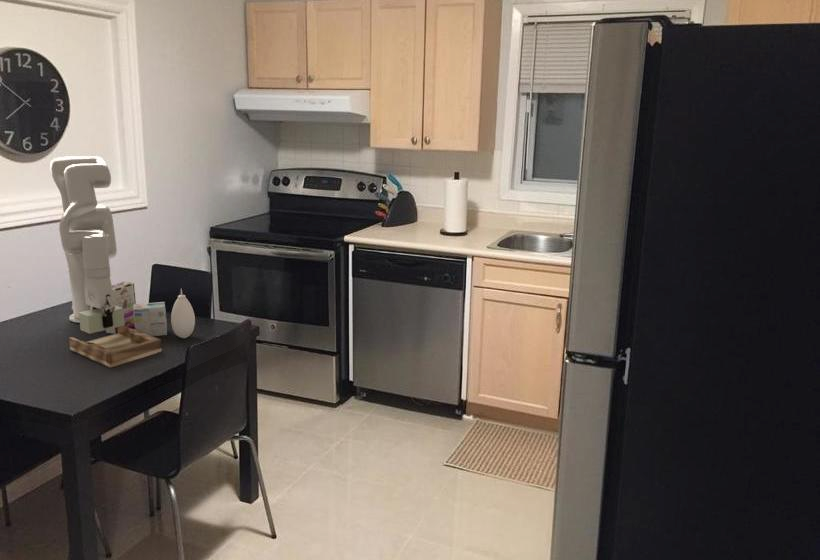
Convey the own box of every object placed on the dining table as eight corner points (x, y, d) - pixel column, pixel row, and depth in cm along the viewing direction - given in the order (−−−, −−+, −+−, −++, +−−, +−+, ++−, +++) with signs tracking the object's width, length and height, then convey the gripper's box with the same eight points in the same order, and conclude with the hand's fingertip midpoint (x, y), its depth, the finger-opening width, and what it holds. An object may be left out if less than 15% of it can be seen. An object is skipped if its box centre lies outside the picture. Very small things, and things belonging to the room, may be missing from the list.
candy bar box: (127, 323, 243) (123, 281, 238) (138, 325, 241) (135, 282, 237) (104, 333, 232) (100, 288, 228) (116, 335, 231) (112, 290, 227)
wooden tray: (70, 349, 216) (68, 337, 215) (121, 335, 230) (120, 324, 229) (110, 367, 203) (109, 354, 202) (161, 351, 217) (160, 339, 216)
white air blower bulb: (198, 333, 234) (195, 285, 230) (192, 341, 227) (189, 291, 222) (176, 333, 234) (173, 285, 230) (169, 341, 227) (165, 291, 222)
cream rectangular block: (80, 330, 215) (78, 312, 214) (115, 321, 225) (113, 304, 223) (89, 333, 212) (88, 316, 210) (124, 325, 221) (123, 308, 220)
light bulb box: (167, 329, 238) (165, 301, 235) (167, 335, 232) (165, 306, 229) (135, 332, 234) (133, 303, 232) (135, 338, 228) (132, 308, 226)
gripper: (72, 270, 216) (78, 322, 220) (100, 278, 206) (106, 333, 210) (94, 266, 222) (99, 317, 226) (123, 274, 212) (127, 327, 216)
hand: (102, 324), depth 218 cm, fingers closed on cream rectangular block, 6 cm apart
